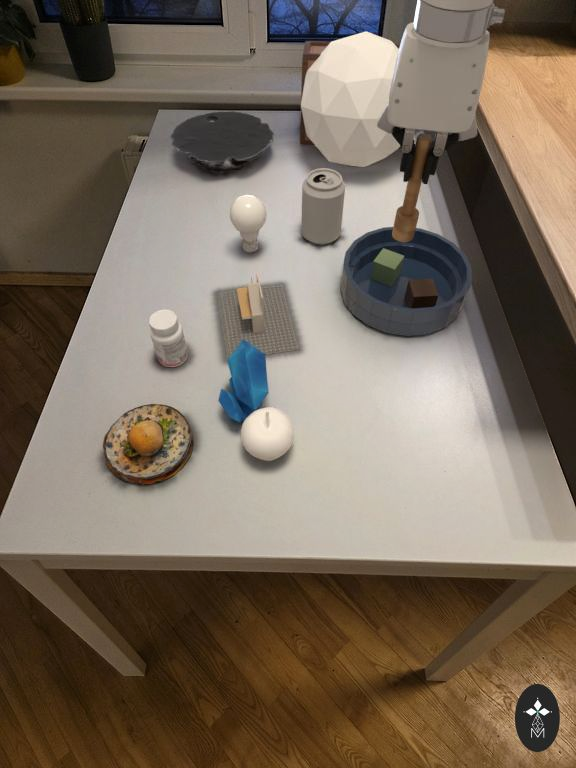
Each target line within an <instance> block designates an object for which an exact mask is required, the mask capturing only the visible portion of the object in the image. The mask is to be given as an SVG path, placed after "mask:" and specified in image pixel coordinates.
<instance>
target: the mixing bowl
mask: <svg viewBox="0 0 576 768" xmlns="http://www.w3.org/2000/svg"><path fill="white" fill-rule="evenodd" d="M392 231H393V226H386V227H381V228H377V229H373V230H371V231H368V232H365V233H363V234H362V235H361V236H360V237H358V238H356V239H355V240H354V241H353V242H352V243H351V244H350V245H349V247H348V248H347V250H346V251H345V254H344V260H343V265H342V273H341V274H342V275H341V281H340V291H341V294H342V295H341V296H342V300H343V303H344V304H345V305H346V307H347V308H348V310H349V311H350V312H351V313H352V315H353V316H354V317H356V318H357V319H359V320H360V321H361V322H362V323H364V324H365V325H367V326H368V327H371V328H373V329H376V330H378V331H380V332H383V333H387V334H391V335H399V336H406V337H411V336H421V335H422V336H423V335H428V334H433V333H434V332H437V331H440V330H442V329H445V328H446V327H448V326H449V325H450V324H451V323H453V321H455V320H456V319H457V318H458V317H459V314H460V312H461V310H462V308H463V306H464V304H465V302H466V298H467V296H468V293H469V290H470V289H471V285H472V283H473V268H472V265H471V263H470V261H469V259H468V257H467V255H466V253H465V252H464V251H462V250H461V248H459V247H458V245H456V244H455V243H454V241H453V242H452V241H451V240H449V239H448V238H446V237H444V236H443V235H441V234H439V233H436V232H433V231H430V230H427V229H423V228H420V227H416V230H415V234H414V238H413V239H412V240H411V241H408V242H400V241H397V240H395V239H394V238H393V236H392ZM383 248H384V249H387V250H390V251H392V252H395V253H398V254H401V255H403V256H404V261H403V265H402V270H401V274H400V275H399V277H398V278H397V280H396V281H395V282H394V284H393V285H392V287H390V286H387V285H385V284H382V283H380V282H377V281H374V280H372V279H371V273H372V267H373V261H374V260H375V258H376V257H377V256H378V255H379V253H380V252H381V251H382V249H383ZM412 279H433V281H434V284H435V287H436V290H437V293H438V299H437V302H436V305H435V306H434V307H427V308H415V309H412V308H407V305H406V301H405V298H404V297H405V293H406V289H407V285H408V281H409V280H412Z"/></svg>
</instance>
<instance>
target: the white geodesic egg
mask: <svg viewBox="0 0 576 768" xmlns="http://www.w3.org/2000/svg"><path fill="white" fill-rule="evenodd" d="M400 44H401V43H394V42H393V41H392V40H390V39H388V38H385V37H383V36H381V35H380V36H379V35H378V34H374V33H372V32H368V31H363V32H360V33H356V34H353V35H349V36H346V37H342V38H339V39H336V40H333V41H322V40H320V41H319V40H306V41H304V46H303V50H302V59H301V88H300V89H301V91H300V118H299V119H300V120H299V146H313V147H316V148H317V149H318V151H319V152H320V153H321V154H322V155H323V156H324V157H325V159H326V160H327V162H329V163H334V164H340V165H344V166H350V167H359V168H366V167H368V166H370V165H372V164H375V163H378V162H380V161H382V160H384V159H386V158H388V157H389V156H390V155H391V154H393V153H394V152H395V151H397V150H401V151H402V147H401V146H400V144H399V143H398V142H397V141H396V139H395V138H394V137H393V135H392V134H390V133H387V132H385V131H383V130H381V129H380V128H378V126H377V122H378V118H379V116H380V115H381V113H382V111H383V109H384V108H385V106H386V104H387V102H388V101H389V94H390V89H391V83H392V78H393V73H394V69H395V64H396V59H397V55H398V51H399V47H400Z"/></svg>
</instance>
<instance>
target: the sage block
mask: <svg viewBox="0 0 576 768" xmlns="http://www.w3.org/2000/svg"><path fill="white" fill-rule="evenodd" d="M403 261H404V256H403V255H401V254H398V253H395V252H392V251H390V250H387V249H384V248H383V249H382V251H381V252H380V253H379V255H378V256H377V257H376V258H375V260H374V261H373V267H372V273H371V279H372V280H374V281H377V282H380V283H382V284H385V285H387V286H390V287H392V285H393V284H394V282H395V281H396V280H397V278H398V277H399V275H400V274H401V270H402V265H403Z"/></svg>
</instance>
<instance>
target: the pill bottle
mask: <svg viewBox="0 0 576 768" xmlns="http://www.w3.org/2000/svg"><path fill="white" fill-rule="evenodd" d="M148 323H149V336H150V339H151V341H152V345H153V348H154V351H155V354H156V357H157V360H158V362H159V363H160V364H161V365H162V366H164V367H168V368H175V367H179V366H182V365H183V364H184V363H186V361H187V359H188V357H189V350H188V346H187V342H186V338H185V333H184V329H183V326H182V324H181V322H179V320H178V315H177V314H176V313H175V312H174V311H173V310H170V309H159V310H156V311H155V312H153V313H152V314H151V315H150V316H149V320H148Z"/></svg>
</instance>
